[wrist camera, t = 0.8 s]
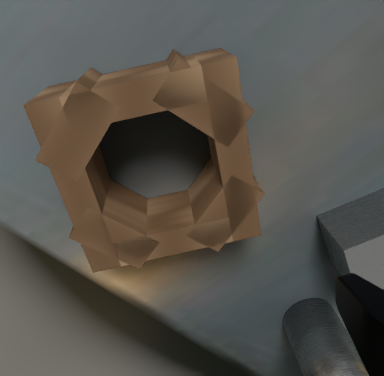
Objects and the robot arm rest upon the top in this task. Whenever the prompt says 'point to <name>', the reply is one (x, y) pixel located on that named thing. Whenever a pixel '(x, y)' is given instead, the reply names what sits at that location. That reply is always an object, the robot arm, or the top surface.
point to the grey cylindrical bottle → (321, 340)
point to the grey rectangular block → (357, 237)
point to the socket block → (127, 199)
